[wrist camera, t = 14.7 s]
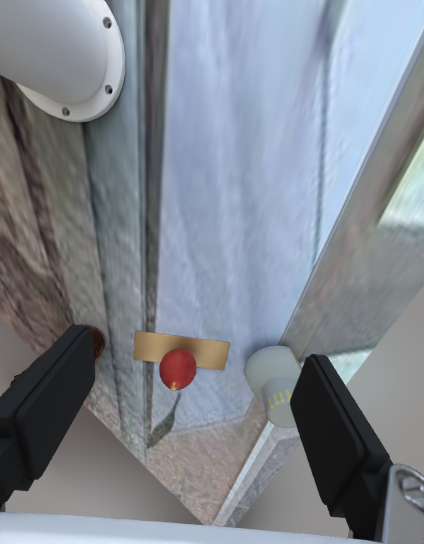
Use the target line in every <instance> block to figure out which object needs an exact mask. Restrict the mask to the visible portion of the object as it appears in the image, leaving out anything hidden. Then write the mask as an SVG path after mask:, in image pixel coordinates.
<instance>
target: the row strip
mask: <svg viewBox="0 0 424 544" xmlns="http://www.w3.org/2000/svg"><path fill="white" fill-rule="evenodd" d="M229 346H230V343H229V342H221V341H213V340H205V339H198V338H190V337H182V336H174V335H166V334H159V333H151V332H143V331H135V350H134V359H136V360H144V361H152V362H161V360H162V358H163V357H164V355H165V354H166V353H168V352H169V351H171V350H173V349H185V350H187V351H189V352H190V353H191V354H192V355H193V356H194V358H195V360H196V367H202V368H210V369H218V370H224V367H225V363H226V359H227V354H228V350H229Z"/></svg>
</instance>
